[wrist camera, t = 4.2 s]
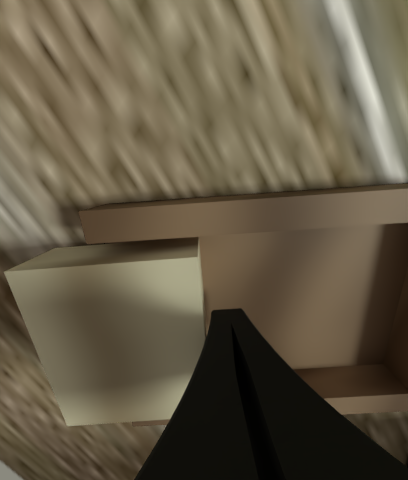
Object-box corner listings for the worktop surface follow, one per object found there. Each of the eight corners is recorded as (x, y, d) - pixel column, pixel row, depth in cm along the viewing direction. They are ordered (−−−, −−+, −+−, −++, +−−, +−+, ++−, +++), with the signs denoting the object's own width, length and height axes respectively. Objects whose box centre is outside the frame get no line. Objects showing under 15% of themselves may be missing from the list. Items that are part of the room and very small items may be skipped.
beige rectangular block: (198, 237, 9) (197, 256, 7) (210, 367, 11) (212, 416, 9) (54, 247, 9) (3, 272, 7) (95, 375, 11) (67, 426, 9)
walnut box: (441, 180, 9) (516, 181, 7) (390, 369, 12) (430, 409, 10) (107, 204, 9) (78, 211, 7) (144, 383, 12) (132, 426, 10)
